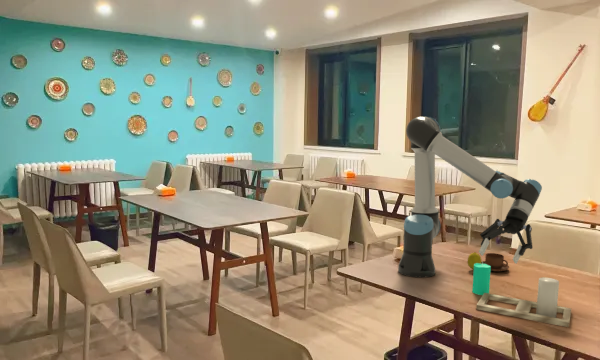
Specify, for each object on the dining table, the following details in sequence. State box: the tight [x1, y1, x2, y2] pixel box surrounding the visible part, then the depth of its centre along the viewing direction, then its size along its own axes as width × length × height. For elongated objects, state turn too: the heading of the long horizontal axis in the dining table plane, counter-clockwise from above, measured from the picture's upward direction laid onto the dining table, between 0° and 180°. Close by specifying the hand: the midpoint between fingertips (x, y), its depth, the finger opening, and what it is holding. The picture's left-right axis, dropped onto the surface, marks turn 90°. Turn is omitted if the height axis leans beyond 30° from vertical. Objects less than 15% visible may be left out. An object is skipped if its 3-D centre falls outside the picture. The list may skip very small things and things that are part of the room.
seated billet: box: [535, 277, 560, 318], centre depth 167 cm, size 6×6×12 cm
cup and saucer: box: [481, 252, 510, 272], centre depth 218 cm, size 12×12×6 cm
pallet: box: [475, 292, 572, 328], centre depth 171 cm, size 28×14×2 cm, turn 60°
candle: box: [471, 260, 492, 296], centre depth 188 cm, size 6×6×12 cm
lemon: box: [467, 251, 482, 271], centre depth 215 cm, size 6×6×8 cm
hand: (497, 257), depth 192 cm, fingers open, 13 cm apart
